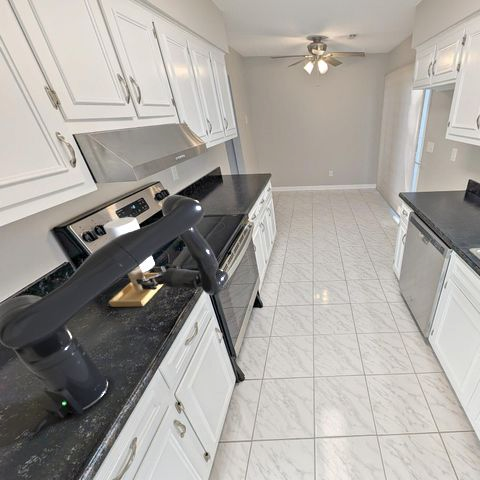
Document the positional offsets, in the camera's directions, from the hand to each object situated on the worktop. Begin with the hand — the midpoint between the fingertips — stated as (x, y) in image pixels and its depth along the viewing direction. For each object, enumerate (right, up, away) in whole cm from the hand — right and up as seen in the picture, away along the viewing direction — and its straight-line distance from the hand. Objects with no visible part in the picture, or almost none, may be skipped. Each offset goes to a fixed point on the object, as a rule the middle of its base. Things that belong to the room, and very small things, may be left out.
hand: (145, 274), depth 105 cm
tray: (-5, -8, +5) cm, 11 cm away
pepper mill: (-5, -7, +5) cm, 10 cm away
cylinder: (-18, +1, +23) cm, 29 cm away
